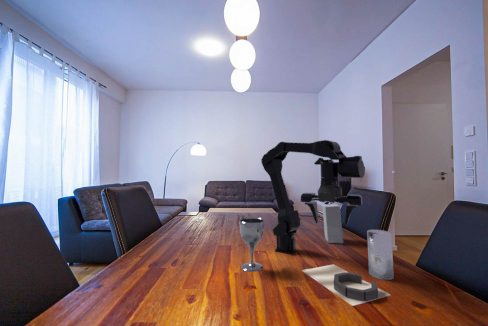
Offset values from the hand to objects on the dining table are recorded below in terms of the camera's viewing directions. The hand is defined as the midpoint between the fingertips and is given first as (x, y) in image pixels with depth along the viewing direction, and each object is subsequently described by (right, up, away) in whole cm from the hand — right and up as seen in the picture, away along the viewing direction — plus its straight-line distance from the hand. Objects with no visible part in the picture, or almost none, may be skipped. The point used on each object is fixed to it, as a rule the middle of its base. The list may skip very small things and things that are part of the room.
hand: (330, 224), depth 74 cm
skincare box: (+10, -14, +25) cm, 30 cm away
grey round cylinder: (+10, -12, -11) cm, 19 cm away
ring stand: (-3, -12, -14) cm, 19 cm away
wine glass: (-27, -13, -2) cm, 30 cm away
